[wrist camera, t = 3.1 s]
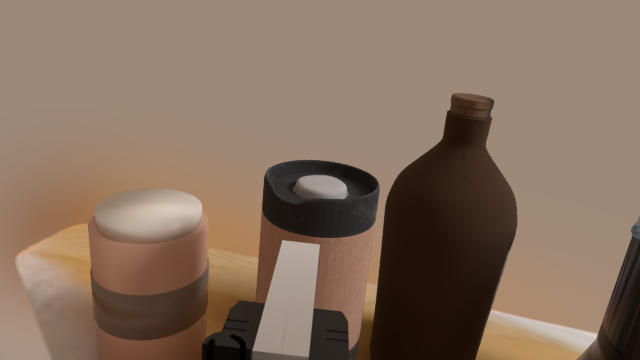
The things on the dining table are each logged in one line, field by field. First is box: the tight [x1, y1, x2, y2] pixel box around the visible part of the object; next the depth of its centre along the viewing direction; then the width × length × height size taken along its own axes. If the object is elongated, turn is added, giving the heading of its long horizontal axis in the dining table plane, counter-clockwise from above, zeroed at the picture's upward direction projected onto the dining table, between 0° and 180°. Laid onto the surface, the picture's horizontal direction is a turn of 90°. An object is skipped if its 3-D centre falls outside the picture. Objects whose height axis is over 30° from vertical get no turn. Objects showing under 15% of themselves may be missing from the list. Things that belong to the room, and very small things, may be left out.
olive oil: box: [370, 93, 517, 360], centre depth 40 cm, size 11×11×25 cm
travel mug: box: [256, 160, 380, 360], centre depth 33 cm, size 8×8×20 cm
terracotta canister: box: [88, 189, 209, 360], centre depth 39 cm, size 9×9×14 cm
